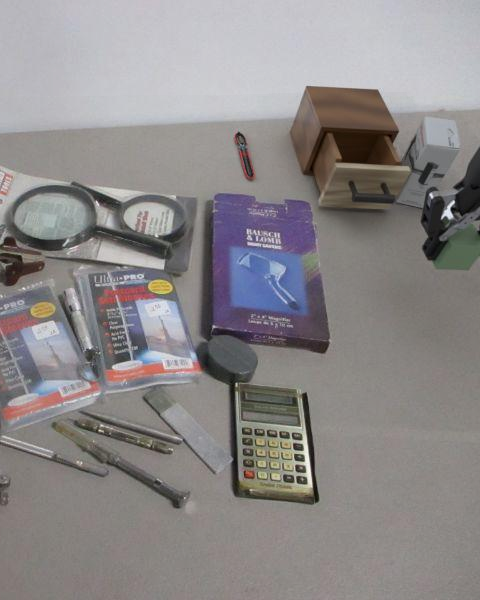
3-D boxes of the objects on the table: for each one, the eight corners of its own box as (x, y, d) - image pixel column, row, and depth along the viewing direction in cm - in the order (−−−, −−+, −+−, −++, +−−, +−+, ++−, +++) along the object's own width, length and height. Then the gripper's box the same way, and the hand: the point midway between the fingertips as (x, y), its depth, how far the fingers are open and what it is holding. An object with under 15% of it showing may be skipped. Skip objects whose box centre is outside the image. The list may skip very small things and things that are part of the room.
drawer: (397, 227, 94) (420, 189, 88) (325, 224, 94) (343, 185, 88) (370, 166, 104) (389, 127, 98) (305, 162, 104) (320, 124, 98)
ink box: (392, 172, 104) (424, 113, 95) (422, 178, 103) (457, 119, 94) (394, 203, 99) (427, 143, 90) (425, 209, 98) (462, 149, 89)
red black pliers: (245, 180, 101) (246, 177, 101) (232, 133, 110) (233, 130, 110) (256, 181, 102) (257, 178, 101) (243, 133, 111) (244, 130, 110)
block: (456, 247, 78) (472, 223, 75) (468, 270, 75) (486, 246, 72) (424, 246, 78) (439, 222, 75) (435, 269, 75) (452, 245, 72)
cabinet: (375, 178, 103) (399, 130, 96) (302, 174, 103) (321, 126, 96) (356, 136, 111) (378, 89, 104) (289, 132, 111) (306, 85, 104)
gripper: (473, 163, 61) (401, 276, 74) (611, 168, 61) (515, 280, 74) (446, 122, 66) (382, 235, 79) (574, 126, 66) (490, 238, 79)
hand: (447, 256), depth 76 cm, fingers closed on block, 4 cm apart
